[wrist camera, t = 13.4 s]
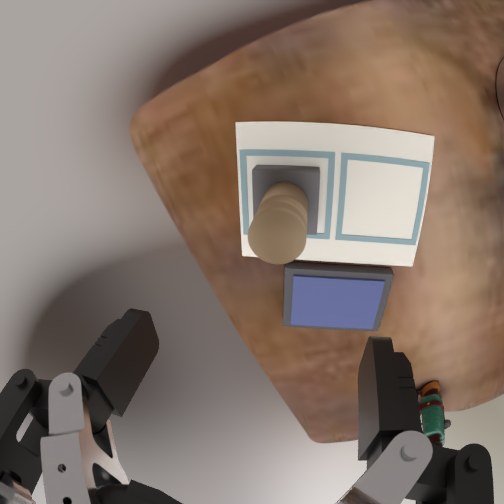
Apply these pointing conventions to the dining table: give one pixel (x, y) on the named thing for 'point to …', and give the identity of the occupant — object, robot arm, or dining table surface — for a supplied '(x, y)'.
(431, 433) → the binoculars
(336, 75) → the dining table surface
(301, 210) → the stamp
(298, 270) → the ink pad
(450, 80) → the dining table surface
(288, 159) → the form board
